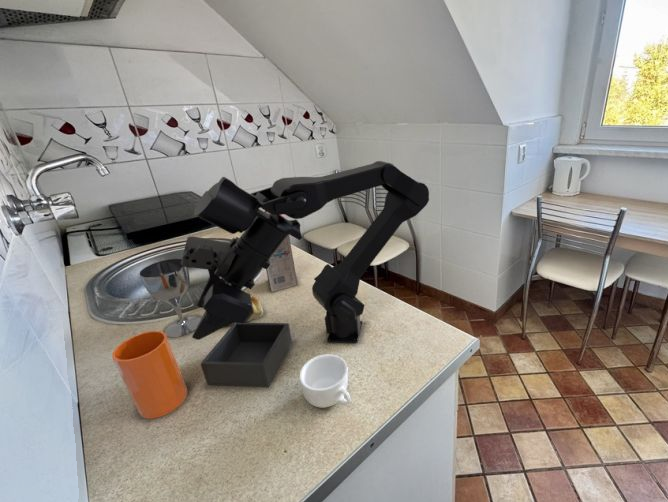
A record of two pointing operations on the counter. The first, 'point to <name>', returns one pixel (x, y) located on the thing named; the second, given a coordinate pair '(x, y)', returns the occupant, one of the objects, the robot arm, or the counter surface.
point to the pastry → (255, 309)
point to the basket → (248, 355)
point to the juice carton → (282, 267)
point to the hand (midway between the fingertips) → (197, 321)
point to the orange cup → (150, 373)
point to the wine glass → (170, 291)
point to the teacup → (325, 380)
